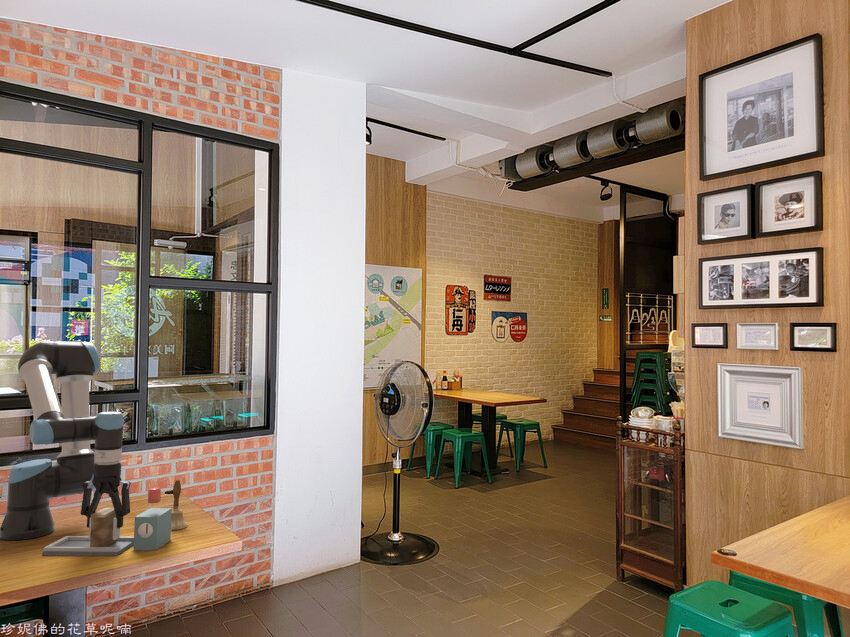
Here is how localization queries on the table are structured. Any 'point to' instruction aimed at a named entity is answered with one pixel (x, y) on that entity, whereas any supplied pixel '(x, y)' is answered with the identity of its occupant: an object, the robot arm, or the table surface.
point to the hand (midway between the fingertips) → (104, 538)
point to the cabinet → (152, 529)
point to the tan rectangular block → (102, 527)
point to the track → (86, 547)
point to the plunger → (154, 495)
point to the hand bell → (177, 509)
